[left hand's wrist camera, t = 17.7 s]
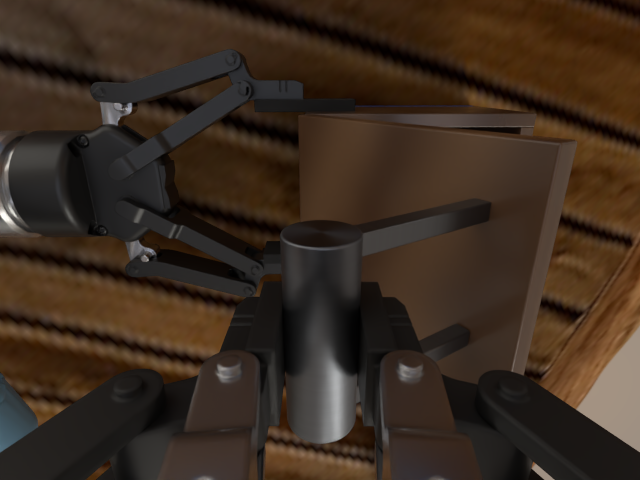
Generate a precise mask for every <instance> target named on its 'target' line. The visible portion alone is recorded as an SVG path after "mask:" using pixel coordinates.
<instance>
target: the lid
mask: <svg viewBox="0 0 640 480" xmlns="http://www.w3.org/2000/svg"><path fill="white" fill-rule="evenodd" d="M298 130H299V180H300V222H299V223H295V224H292V225H289V226H287V227H286V228H284V229H283V230H282V232H281V234H280V248H281V273H282V298H283V321H284V346H285V372H286V397H287V419H288V423H289V426H290V427H291V429H292V431H293V432H294V433H295V434H296V435H297V436H299V437H300V438H302V439H304V440H306V441H308V442H312V443H318V444H325V443H331V442H335V441H337V440H339V439H341V438H343V437H344V436H346V435H347V434H348V433H349V432H350V431H351V429H352V427H353V426H354V423H355V418H356V403H358V402H360V393H359V385H358V377H357V359H358V335H359V311H360V300H361V282H378V283H379V287H380V290H381V294H382V297H396V298H397V299H398V300H399V301H400V302H401V303H403V304H404V305H405V307H406V309H407V312H408V315H409V318H410V320H411V322H412V326H413V327H414V330H415V333H416V335H417V338H418V340H419V343H420V346H421V348H422V351H423V353H424V354H425V355H427V356H428V357H430V358H431V359H433V360H434V361H435V362H436V363H437V365H438V366H439V369H440V371H441V374H443V375H445V376H447V377H450V378H453V379H456V380H460V381H465V382H469V383H474V384H478V380H479V378H480V376H481V375H482V374H484V373H485V372H488V371H491V370H507V371H512V372H515V373H518V374H521V375H524V371H525V367H526V362H527V358H528V354H529V349H530V345H531V341H532V336H533V332H534V328H535V323H536V319H537V315H538V310H539V306H540V302H541V298H542V293H543V289H544V285H545V280H546V276H547V272H548V267H549V263H550V259H551V254H552V250H553V246H554V241H555V237H556V233H557V228H558V224H559V220H560V216H561V211H562V207H563V203H564V198H565V194H566V190H567V185H568V181H569V177H570V172H571V168H572V164H573V159H574V155H575V151H576V146H577V141H575V140H570V139H560V138H550V137H539V136H529V135H519V134H509V133H498V132H488V131H478V130H468V129H458V128H447V127H437V126H427V125H417V124H406V123H396V122H386V121H376V120H366V119H355V118H345V117H335V116H325V115H314V114H305V115H298Z"/></svg>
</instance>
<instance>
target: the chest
mask: <svg viewBox="0 0 640 480" xmlns="http://www.w3.org/2000/svg"><path fill="white" fill-rule="evenodd" d="M305 114H314V115H325V116H335V117H345V118H355V119H366V120H376V121H386V122H396V123H406V124H417V125H427V126H437V127H447V128H458V129H468V130H478V131H488V132H498V133H509V134H519V135H529V136H532V134H533V129H534V128H533V127H534V124H535V119H536V113H529V112H520V111H511V110H502V109H494V108H485V107H476V106H355V111H328V112H306V113H305Z"/></svg>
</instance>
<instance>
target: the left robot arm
mask: <svg viewBox="0 0 640 480" xmlns="http://www.w3.org/2000/svg"><path fill="white" fill-rule="evenodd" d="M357 377H358V385H359V393H360V401H361V409H362V416H363V424H364V426H374V429H375V436H376V437H375V452H374V453H375V480H544V479H543V478H541V477H540V476H539V475H538V474H537V473H536V472H535V471H533V470H532V469H531V467H532V464H533V462H535V463H536V464H537V465H538V466H539V467H541V468H542V469H543V470H544V471H545V472H546V473H548V474H549V475H550V476H551V477H552V478H553V479H555V480H640V452H638V451H637V450H635V449H634V448H632V447H631V446H629V445H628V444H626V443H625V442H623V441H622V440H620V439H619V438H617V437H616V436H614V435H613V434H611V433H610V432H608V431H607V430H605V429H604V428H602V427H601V426H599V425H598V424H596V423H595V422H593V421H592V420H591V419H589V418H588V417H586V416H585V415H583V414H582V413H580V412H579V411H577V410H576V409H574V408H573V407H571V406H570V405H568V404H567V403H565V402H564V401H562V400H561V399H559V398H558V397H556V396H555V395H553V394H552V393H550V392H549V391H547V390H546V389H544V388H543V387H541V386H540V385H538V384H537V383H535V382H534V381H532V380H531V379H529V378H527V377H525V376H523V375H521V374H518V373H515V372H512V371H507V370H491V371H488V372H485V373H484V374H482V375H481V376H480V378H479V380H478V384H474V383H469V382H465V381H460V380H456V379H453V378H450V377H447V376H445V375H443V374H441V371H440V369H439V366H438V365H437V363H436V362H435V361H434V360H433V359H431V358H430V357H428V356H427V355H425V354H424V353H423V351H422V348H421V346H420V343H419V340H418V338H417V335H416V333H415V330H414V327H413V326H412V322H411V320H410V318H409V315H408V312H407V309H406V307H405V305H404V304H403V303H401V302H400V301H399V300H398V299H397V298H396V297H382V294H381V290H380V287H379V283H378V282H361V300H360V311H359V335H358V359H357ZM284 379H285V346H284V321H283V298H282V282H264V284H263V287H262V291H261V294H260V297H246V298H245V299H244V300H243V301H242V302H241V303H240V304H238V305H237V307H236V310H235V313H234V315H233V318H232V320H231V323H230V326H229V328H228V331H227V334H226V336H225V339H224V342H223V344H222V347H221V350H220V352H219V353H218V354H215V355H213V356H212V357H210V358H209V359H207V360H206V361H205V362H204V363H203V365H202V366H201V369H200V372H199V375H197V376H195V377H192V378H189V379H186V380H182V381H177V382H173V383H168V384H164V383H163V378H162V376H161V375H160V374H159V373H158V372H156V371H154V370H150V369H135V370H130V371H126V372H123V373H121V374H118V375H116V376H114V377H113V378H111V379H109V380H108V381H106V382H105V383H103V384H102V385H100V386H99V387H97V388H96V389H94V390H93V391H91V392H90V393H88V394H87V395H85V396H84V397H82V398H81V399H79V400H78V401H76V402H75V403H73V404H72V405H70V406H69V407H67V408H66V409H64V410H63V411H61V412H60V413H58V414H57V415H55V416H54V417H52V418H51V419H49V420H48V421H46V422H45V423H44V424H42V425H41V426H39V427H38V428H36V429H35V430H33V431H32V432H30V433H29V434H27V435H26V436H24V437H23V438H21V439H20V440H18V441H17V442H15V443H14V444H12V445H11V446H9V447H8V448H6V449H5V450H3V451H2V452H0V480H85V479H87V478H88V477H89V476H90V475H91V474H93V473H94V472H95V471H96V470H97V469H98V468H100V467H101V466H102V465H103V464H104V463H105V462H107V461H108V460H109V459H110V462H111V467H110V468H109V469H108V470H107V471H105V472H104V473H103V474H102V475H101V476H100V477H99V478H97V479H96V480H265V454H266V451H265V443H266V439H267V434H268V427H269V426H279V420H280V412H281V404H282V395H283V387H284Z"/></svg>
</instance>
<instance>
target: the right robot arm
mask: <svg viewBox="0 0 640 480" xmlns="http://www.w3.org/2000/svg"><path fill="white" fill-rule="evenodd" d="M228 75H229V77H230V80H231V82H232V86H231V87H229V88H228V89H226V90H225V91H223V92H222V93H220V94H219V95H217V96H216V97H214V98H213V99H211V100H210V101H208V102H207V103H205V104H203V105H202V106H200V107H199V108H197V109H196V110H194V111H193V112H191V113H190V114H188V115H187V116H185V117H184V118H182V119H181V120H179V121H178V122H176V123H175V124H173V125H172V126H170V127H169V128H167V129H166V130H164V131H163V132H161V133H159V134H157V135H155V136H154V137H152V138H150V139H149V140H148V139H146V138H144V137H143V136H141V135H140V134H138V133H137V132H135V131H134V130H132V129H131V128H129V127H128V126H126V125H124V119H125V117H126V116H128V115H131V114H134V113H135V112H136V111H137V109H138V104H137V102H147V101H152V100H156V99H159V98H162V97H165V96H168V95H171V94H174V93H177V92H180V91H183V90H186V89H189V88H192V87H195V86H198V85H201V84H204V83H207V82H210V81H213V80H216V79H219V78H222V77H225V76H228ZM90 92H91V95H92V97H93V98H94V99H95V100H97V101H99V102H100V105H101V112H102V120H103V125H101V126H100V127H98V128H97V129H95V130H90V131H34V132H31V133H30V132H27V131H0V237H40V236H46V237H96V236H111V237H115V238H117V239H119V240H122V241H124V242H126V246H127V249H128V253H129V257H130V262H129V263H128V264H127V265H126V267H125V270H126V272H127V274H128V275H130V276H132V277H145V276H161V277H165V278H169V279H173V280H177V281H181V282H185V283H189V284H193V285H197V286H201V287H206V288H210V289H214V290H218V291H222V292H226V293H230V294H234V295H238V296H242V297H253V296H254V295H255V293H256V290H257V287H258V284H259V282H260V279H261V278H262V276H264V275H266V274H282V273H281V248H280V241H267V243H266V246H265V248H263V250H260V249H258V248H256V247H254V246H252V245H250V244H248V243H246V242H244V241H242V240H240V239H238V238H236V237H234V236H232V235H230V234H228V233H227V232H225V231H223V230H221V229H219V228H217V227H215V226H213V225H211V224H209V223H207V222H205V221H203V220H201V219H199V218H197V217H195V216H194V215H192V214H191V212H190V211H189V210H187V209H185V208H183V207H181V206H179V205H178V204H177V203H178V202H179V195H178V190H177V188H176V185H175V183H174V176H175V166H174V160H171V159H170V157H169V156H168V154H169V153H170V152H172V151H173V150H175V149H177V148H178V147H180V146H181V145H182V144H184V143H185V142H187V141H188V140H190V139H191V138H193V137H194V136H196V135H198V134H199V133H201V132H202V131H204V130H205V129H207V128H208V127H210V126H211V125H213V124H215V123H216V122H218V121H219V120H221V119H222V118H224V117H225V116H227V115H228V114H230V113H232V112H233V111H235V110H236V109H238V108H239V107H241V106H242V105H244V104H246V103H247V102H249V101H250V100H254V104H255V112H328V111H355V99H304V95H303V84H302V83H300V82H298V81H295V80H256V79H255V78H254V77H253V76H252V75H251V73H250V71H249V68H248V66H247V63H246V59H245V57H244V55H242V54H241V53H239V52H237V51H235V50H232V49H227V50H224V51H221V52H218V53H215V54H212V55H209V56H206V57H203V58H201V59H198V60H195V61H192V62H189V63H186V64H183V65H180V66H177V67H174V68H171V69H168V70H165V71H162V72H159V73H156V74H153V75H150V76H147V77H144V78H141V79H138V80H135V81H132V82H129V83H113V82H96V83H94V84H92V86H91V89H90ZM151 230H153V231H155V232H157V233H159V234H161V235H163V236H165V237H167V238H171V239H172V238H175V239H178V240H180V241H182V242H184V243H186V244H189V245H191V246H193V247H195V248H197V249H199V250H201V251H203V252H205V253H207V254H209V255H211V256H213V257H215V258H217V259H219V260H221V261H223V262H225V263H222V262H218V261H214V260H210V259H206V258H202V257H198V256H194V255H190V254H187V253H183V252H179V251H174V250H168V249H160V246H159V245H158V244H152V243H148V242H147V241H146V240H145V239H144V237H143V236H144V235H145V234H147V233H148V232H149V231H151ZM226 263H227V264H226ZM36 428H38V420H37V418H36V415H35V413H34V412H33V411H32V410H31V409H30V407H29V406H28V405H27V404H26V403H25V402H24V401H23V399H22V398H21V397H20V396H19V395H18V394H17V392H16V391H15V390H14V389H13V388H12V387H11V386H10V384H9V383H8V382H7V381H6V380H5V378H4V376H3V374H2V373H0V452H2V451H3V450H5V449H6V448H8V447H9V446H11V445H12V444H14V443H15V442H17V441H18V440H20V439H21V438H23V437H24V436H26V435H27V434H29V433H30V432H32V431H33V430H35V429H36Z"/></svg>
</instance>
